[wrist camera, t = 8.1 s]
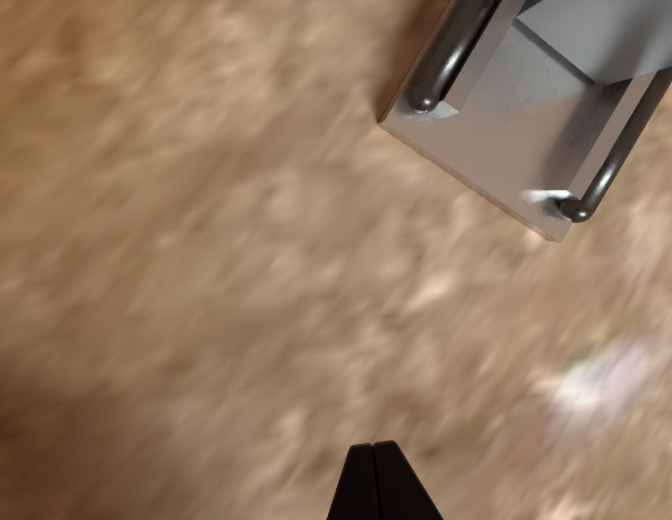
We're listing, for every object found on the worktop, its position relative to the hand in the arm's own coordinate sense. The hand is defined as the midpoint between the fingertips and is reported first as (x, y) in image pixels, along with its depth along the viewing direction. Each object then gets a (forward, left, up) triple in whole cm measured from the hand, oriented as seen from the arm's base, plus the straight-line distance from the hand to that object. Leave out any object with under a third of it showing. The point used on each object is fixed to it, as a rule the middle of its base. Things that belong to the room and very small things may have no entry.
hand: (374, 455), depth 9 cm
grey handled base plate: (-2, -15, -12) cm, 19 cm away
